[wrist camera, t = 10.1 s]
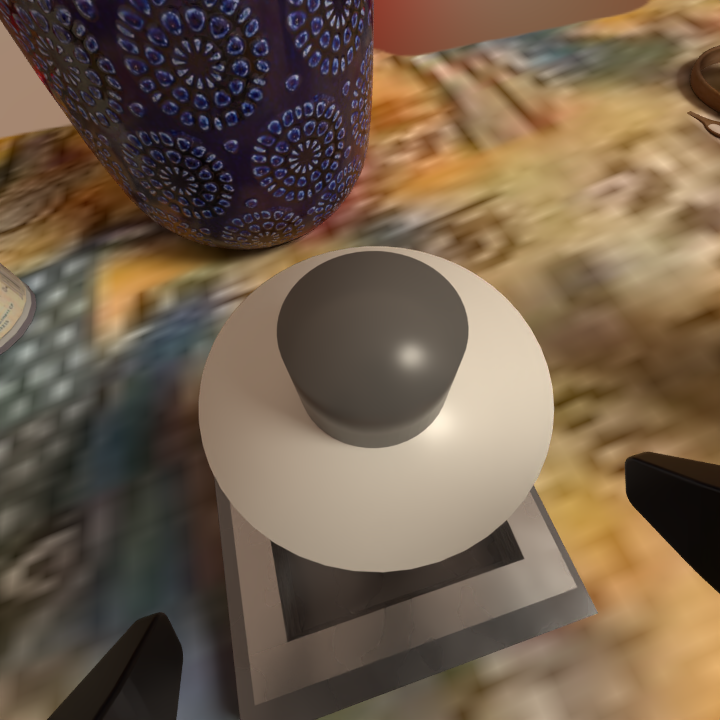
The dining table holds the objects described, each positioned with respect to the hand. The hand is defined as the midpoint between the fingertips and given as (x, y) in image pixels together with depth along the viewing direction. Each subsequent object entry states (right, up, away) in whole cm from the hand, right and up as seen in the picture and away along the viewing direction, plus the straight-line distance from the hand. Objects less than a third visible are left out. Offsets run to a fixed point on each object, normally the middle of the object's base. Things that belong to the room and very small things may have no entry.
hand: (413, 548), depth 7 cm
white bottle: (0, -2, +9) cm, 9 cm away
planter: (-8, +16, +21) cm, 27 cm away
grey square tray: (0, -3, +10) cm, 11 cm away
